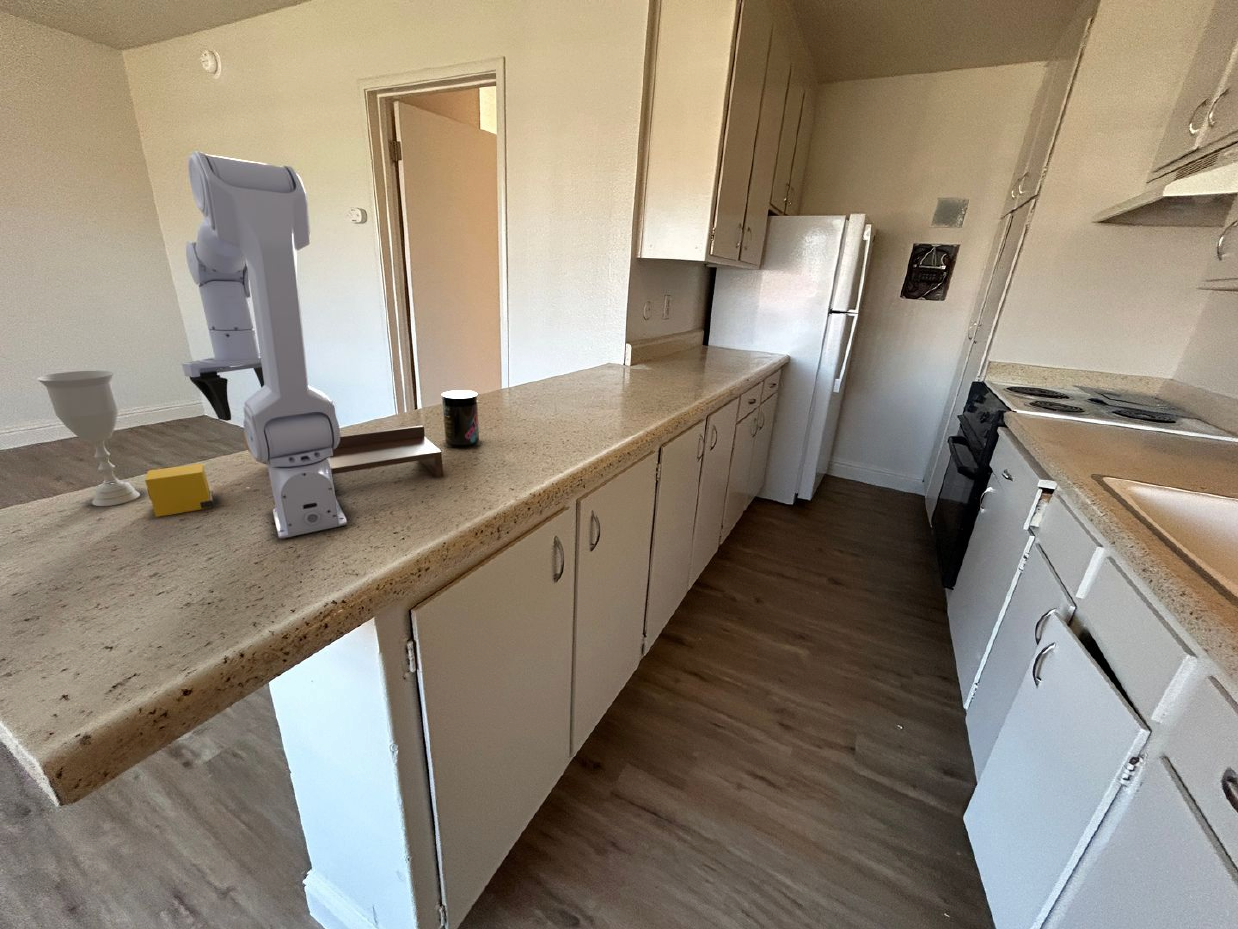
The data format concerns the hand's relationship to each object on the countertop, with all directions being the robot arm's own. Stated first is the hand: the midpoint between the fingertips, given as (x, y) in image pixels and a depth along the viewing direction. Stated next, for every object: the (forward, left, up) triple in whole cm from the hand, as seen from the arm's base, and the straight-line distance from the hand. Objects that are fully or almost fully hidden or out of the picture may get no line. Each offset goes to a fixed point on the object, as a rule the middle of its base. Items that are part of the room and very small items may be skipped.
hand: (249, 414), depth 83 cm
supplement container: (-2, -34, -10) cm, 36 cm away
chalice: (-3, +18, -10) cm, 21 cm away
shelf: (-12, -16, -10) cm, 23 cm away
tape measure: (-11, +10, -10) cm, 18 cm away
